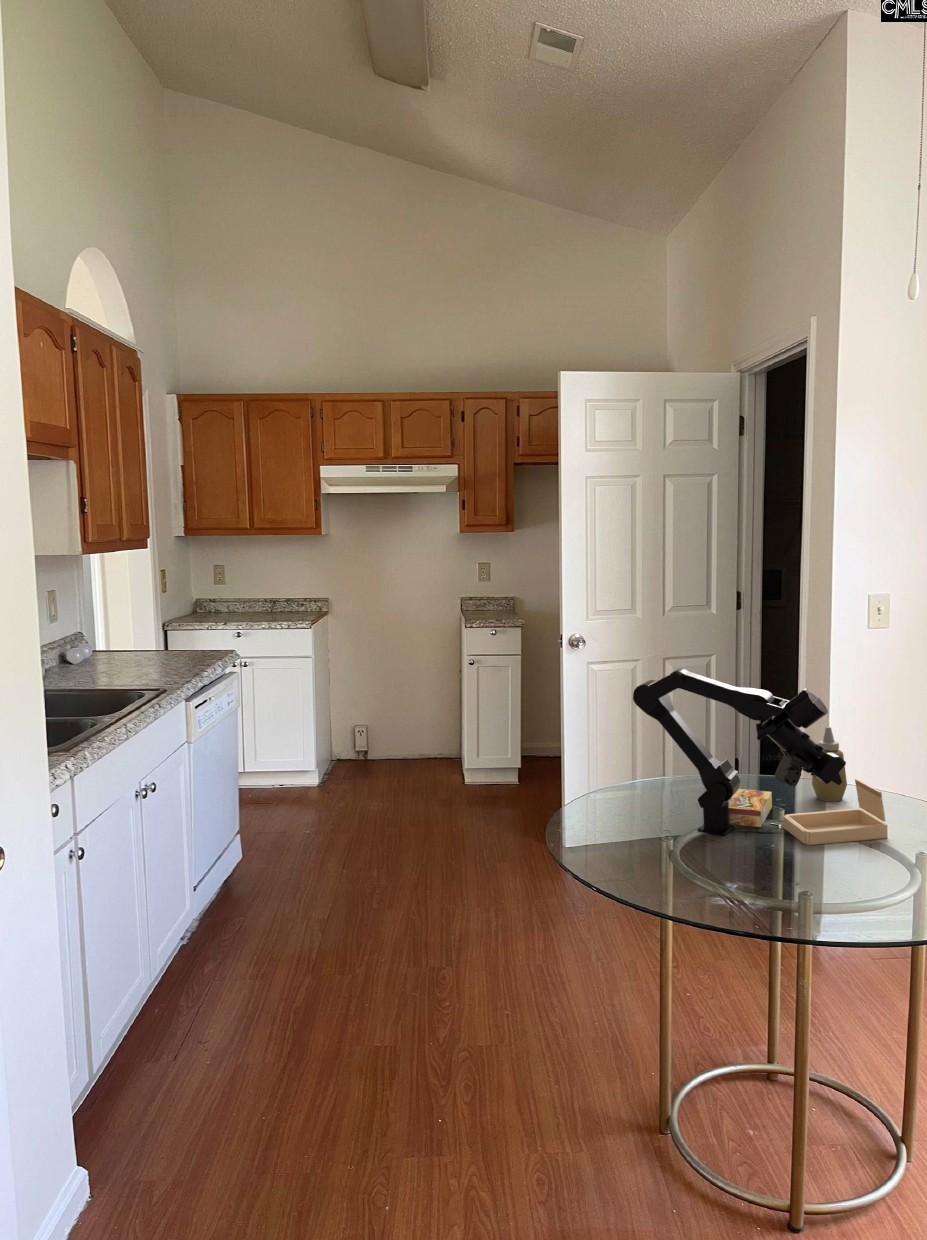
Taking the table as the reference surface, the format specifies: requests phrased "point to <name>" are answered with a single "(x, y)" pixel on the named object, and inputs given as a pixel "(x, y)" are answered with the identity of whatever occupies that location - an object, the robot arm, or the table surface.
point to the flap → (870, 799)
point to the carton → (834, 826)
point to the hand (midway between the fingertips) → (840, 783)
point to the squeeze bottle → (832, 789)
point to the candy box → (749, 807)
